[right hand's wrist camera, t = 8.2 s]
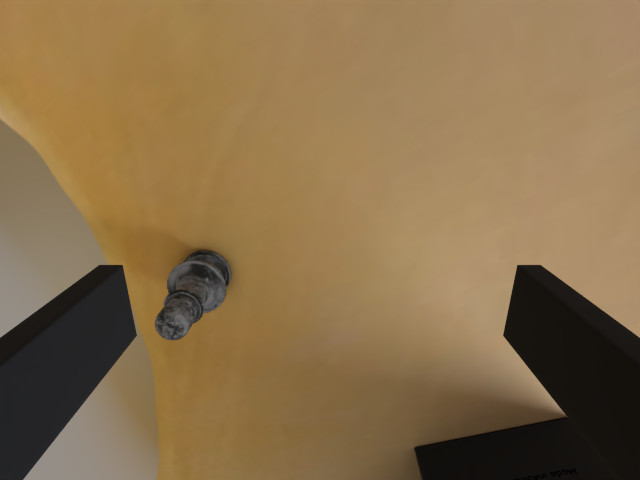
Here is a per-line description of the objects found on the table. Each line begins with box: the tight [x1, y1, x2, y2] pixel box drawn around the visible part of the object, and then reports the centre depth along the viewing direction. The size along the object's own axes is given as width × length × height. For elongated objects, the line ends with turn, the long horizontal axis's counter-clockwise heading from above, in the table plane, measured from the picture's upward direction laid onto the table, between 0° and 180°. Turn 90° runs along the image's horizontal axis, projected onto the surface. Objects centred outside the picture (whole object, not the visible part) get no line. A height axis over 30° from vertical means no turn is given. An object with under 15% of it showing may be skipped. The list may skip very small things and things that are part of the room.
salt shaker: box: [155, 250, 231, 340], centre depth 35 cm, size 6×6×12 cm
